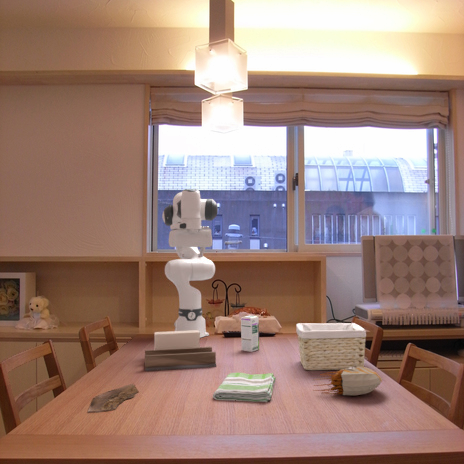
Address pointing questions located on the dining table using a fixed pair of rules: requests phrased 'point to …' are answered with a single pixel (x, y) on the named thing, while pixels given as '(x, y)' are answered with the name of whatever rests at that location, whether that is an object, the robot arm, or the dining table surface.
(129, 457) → the dining table surface
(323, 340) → the storage basket
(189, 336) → the white rectangular block
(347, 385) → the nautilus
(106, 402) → the wooden fragment
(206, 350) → the slot rack
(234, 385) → the dish towel
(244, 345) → the syrup box
